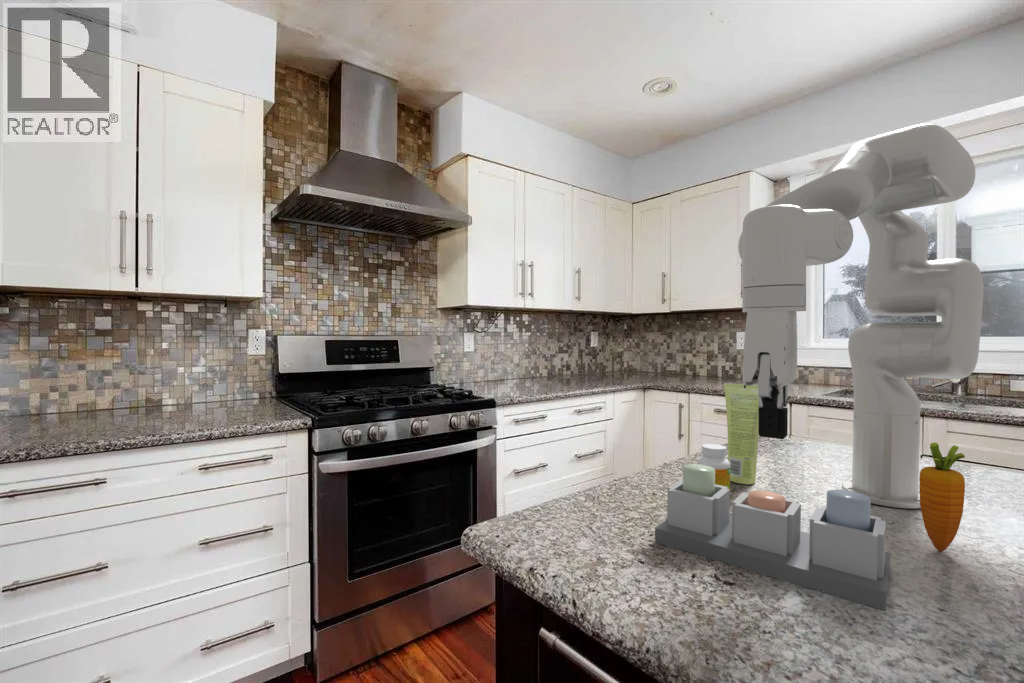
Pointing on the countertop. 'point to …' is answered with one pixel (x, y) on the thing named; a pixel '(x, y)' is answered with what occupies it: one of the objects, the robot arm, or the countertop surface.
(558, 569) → the countertop surface
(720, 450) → the supplement bottle
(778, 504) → the button terracotta
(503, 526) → the countertop surface
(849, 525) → the button slate
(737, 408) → the tube
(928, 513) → the carrot
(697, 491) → the button sage
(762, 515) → the three-cup grey tray
